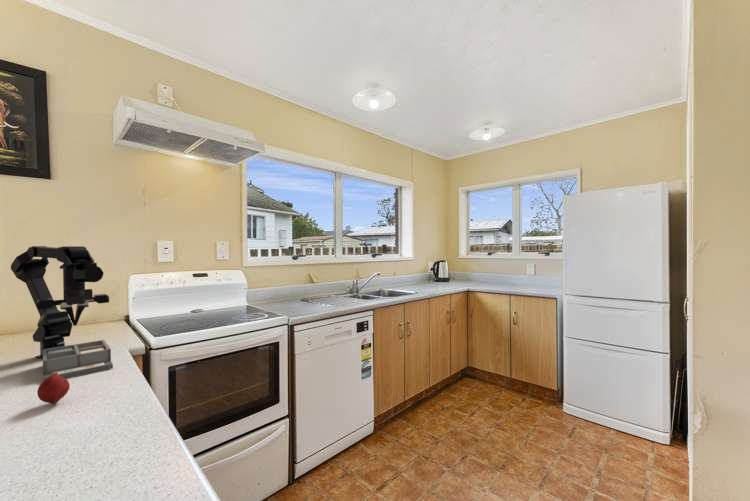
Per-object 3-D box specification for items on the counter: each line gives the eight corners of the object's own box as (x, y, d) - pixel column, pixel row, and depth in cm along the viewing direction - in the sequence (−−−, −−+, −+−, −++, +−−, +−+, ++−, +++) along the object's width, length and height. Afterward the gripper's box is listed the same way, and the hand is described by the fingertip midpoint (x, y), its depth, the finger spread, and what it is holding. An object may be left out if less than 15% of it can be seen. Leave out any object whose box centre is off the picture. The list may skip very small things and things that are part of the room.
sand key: (80, 356, 111) (80, 351, 111) (103, 351, 115) (103, 347, 115) (81, 360, 107) (81, 355, 107) (105, 355, 111) (105, 351, 111)
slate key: (47, 356, 111) (47, 351, 111) (72, 352, 115) (72, 347, 115) (48, 360, 107) (48, 356, 106) (73, 356, 111) (73, 351, 111)
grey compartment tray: (42, 365, 111) (42, 349, 111) (104, 354, 122) (104, 339, 122) (43, 383, 97) (43, 364, 97) (112, 368, 108) (112, 351, 108)
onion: (49, 410, 81) (48, 377, 81) (31, 408, 82) (30, 376, 82) (75, 399, 86) (74, 369, 86) (58, 397, 88) (57, 367, 87)
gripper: (36, 285, 105) (37, 334, 105) (111, 281, 118) (111, 324, 118) (36, 283, 113) (37, 328, 113) (106, 279, 126) (107, 319, 126)
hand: (75, 325), depth 117 cm, fingers closed
